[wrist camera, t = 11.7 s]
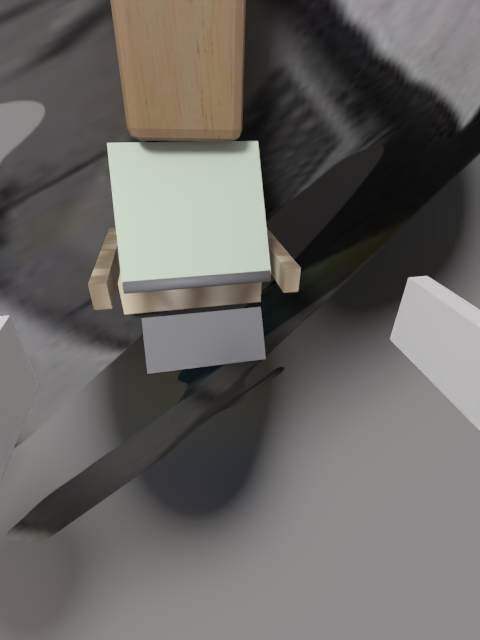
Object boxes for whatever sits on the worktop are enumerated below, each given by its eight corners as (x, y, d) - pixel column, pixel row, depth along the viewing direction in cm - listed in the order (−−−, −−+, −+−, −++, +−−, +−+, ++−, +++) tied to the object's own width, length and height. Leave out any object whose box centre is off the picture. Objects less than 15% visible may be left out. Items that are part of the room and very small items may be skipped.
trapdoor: (135, 369, 34) (130, 375, 30) (114, 160, 34) (105, 139, 30) (270, 353, 37) (281, 357, 33) (251, 157, 36) (259, 137, 32)
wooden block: (226, 133, 39) (227, -144, 28) (244, 143, 31) (256, -245, 20) (134, 132, 37) (99, -165, 26) (128, 141, 29) (71, -285, 18)
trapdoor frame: (125, 307, 48) (113, 382, 35) (109, 227, 42) (87, 284, 29) (257, 295, 51) (290, 360, 38) (260, 219, 45) (300, 268, 32)
